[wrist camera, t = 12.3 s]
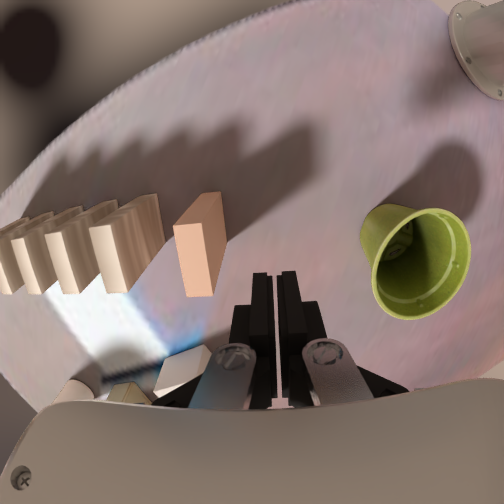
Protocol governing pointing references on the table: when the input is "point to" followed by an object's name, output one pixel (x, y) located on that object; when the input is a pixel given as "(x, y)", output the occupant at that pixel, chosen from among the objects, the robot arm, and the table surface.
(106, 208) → the domino
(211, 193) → the domino
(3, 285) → the domino
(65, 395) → the drinking glass
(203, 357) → the white cube
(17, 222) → the domino
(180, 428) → the robot arm
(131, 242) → the domino
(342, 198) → the table surface
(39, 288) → the domino
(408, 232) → the plant pot
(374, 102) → the table surface
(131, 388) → the skincare box
